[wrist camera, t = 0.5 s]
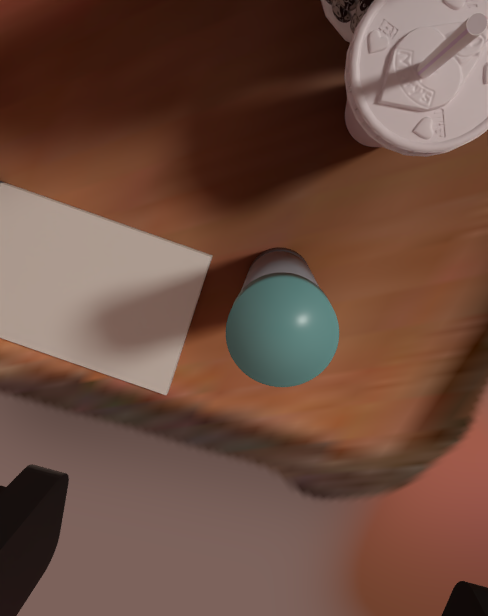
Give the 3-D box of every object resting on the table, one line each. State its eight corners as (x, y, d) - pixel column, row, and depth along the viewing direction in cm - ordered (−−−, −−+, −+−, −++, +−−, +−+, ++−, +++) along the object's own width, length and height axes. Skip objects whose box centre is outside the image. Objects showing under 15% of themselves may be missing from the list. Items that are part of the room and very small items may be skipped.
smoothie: (300, 97, 25) (329, -24, 12) (399, 26, 24) (560, -201, 10) (356, 192, 26) (443, 183, 13) (454, 129, 25) (666, 44, 12)
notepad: (-12, 176, 28) (-19, 176, 27) (212, 255, 28) (210, 256, 27) (-38, 320, 30) (-45, 322, 29) (168, 391, 30) (165, 396, 30)
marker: (259, 236, 27) (246, 262, 16) (322, 258, 27) (356, 301, 16) (237, 298, 28) (211, 365, 17) (298, 319, 28) (314, 401, 17)
